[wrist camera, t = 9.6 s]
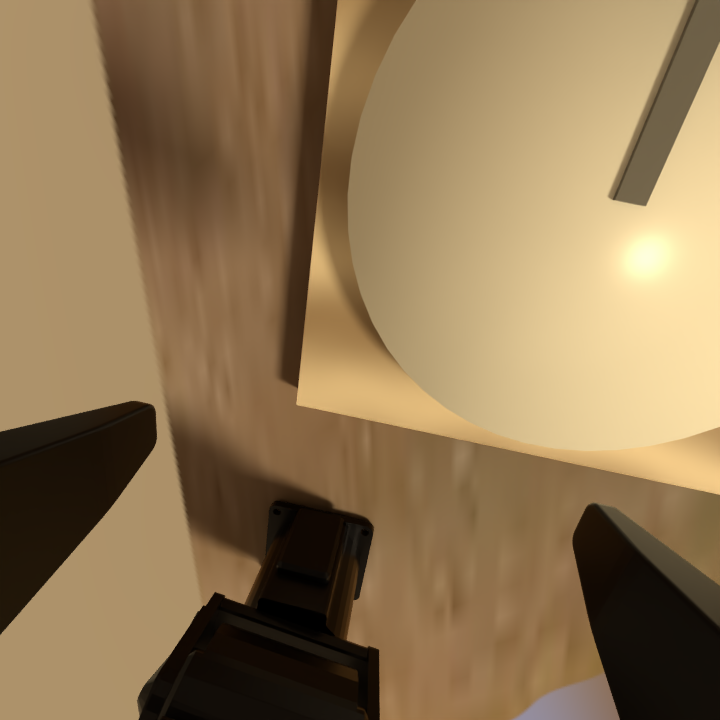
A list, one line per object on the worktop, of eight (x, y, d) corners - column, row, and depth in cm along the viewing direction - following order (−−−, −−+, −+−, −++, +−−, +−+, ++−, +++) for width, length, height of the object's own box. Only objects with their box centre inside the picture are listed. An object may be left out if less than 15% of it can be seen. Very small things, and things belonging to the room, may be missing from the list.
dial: (725, 476, 18) (882, 614, 12) (320, 377, 19) (273, 456, 13) (1127, -96, 10) (2127, -527, 4) (419, -197, 11) (417, -643, 5)
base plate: (729, 480, 19) (771, 517, 17) (304, 391, 21) (290, 414, 19) (1129, -135, 11) (1316, -226, 9) (369, -197, 13) (357, -287, 10)
